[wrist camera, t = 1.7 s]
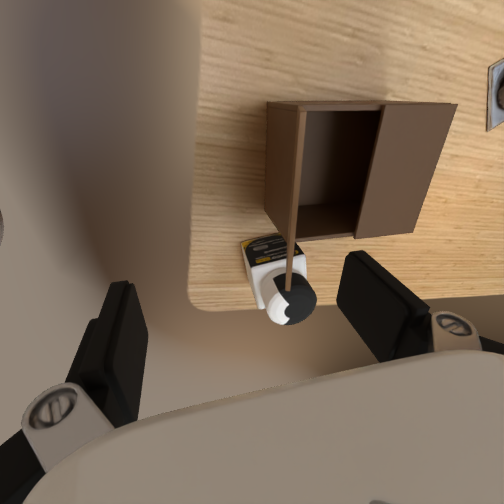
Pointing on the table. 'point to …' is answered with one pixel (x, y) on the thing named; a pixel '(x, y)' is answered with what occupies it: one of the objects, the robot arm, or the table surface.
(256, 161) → the table surface
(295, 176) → the front flap
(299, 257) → the medicine bottle
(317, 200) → the carton
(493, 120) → the donut
